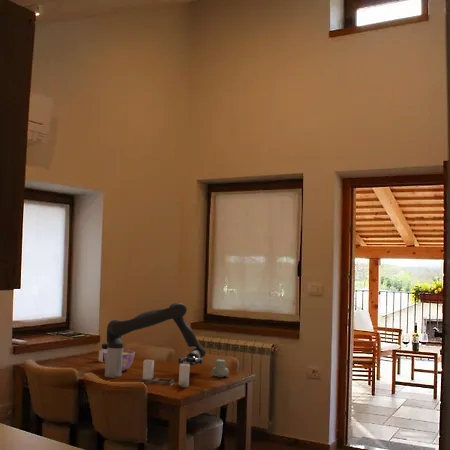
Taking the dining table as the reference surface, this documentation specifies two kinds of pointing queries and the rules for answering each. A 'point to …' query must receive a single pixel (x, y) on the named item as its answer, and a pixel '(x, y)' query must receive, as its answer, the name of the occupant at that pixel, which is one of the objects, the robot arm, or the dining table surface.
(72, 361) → the dining table surface
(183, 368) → the block
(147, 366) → the block
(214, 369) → the air freshener
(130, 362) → the bowl of food
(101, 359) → the medicine bottle
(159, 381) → the pallet
